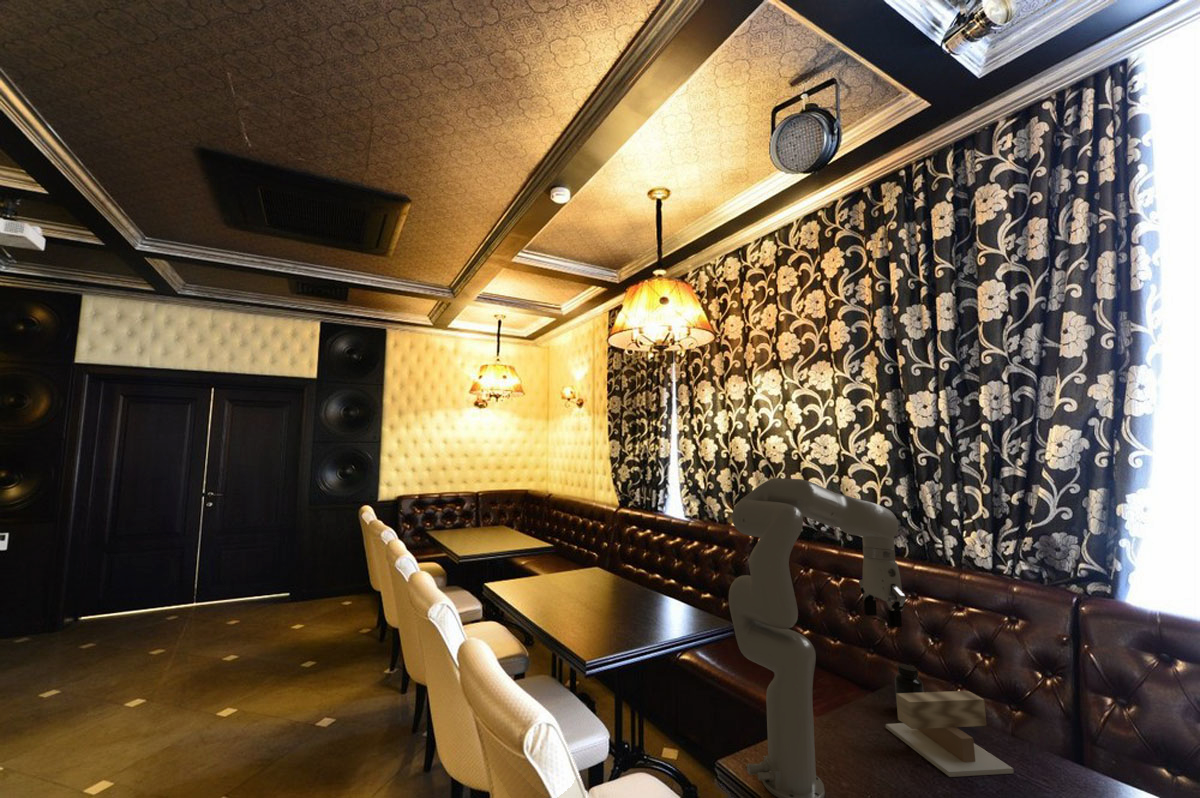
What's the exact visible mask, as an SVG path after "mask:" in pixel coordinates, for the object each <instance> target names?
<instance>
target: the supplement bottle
mask: <svg viewBox="0 0 1200 798" xmlns="http://www.w3.org/2000/svg"><path fill="white" fill-rule="evenodd" d="M918 671H919V670H918V668H917V667H916V666H913V665H909V664H905V663H902V664H901V663H899V664H898V665H897V673H898V674H896V675H895V677H894V686H895V687H894V690H895V694H896V693H922V692H925V690H924V684H923V681H922V680H921V679H920V678H919V672H918ZM895 702H896V704H895V705H896V706H897V698H896V697H895Z"/></svg>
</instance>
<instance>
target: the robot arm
mask: <svg viewBox="0 0 1200 798" xmlns="http://www.w3.org/2000/svg"><path fill="white" fill-rule="evenodd" d="M731 515H732V516H731V520H732V524H733V526H734V529H736V530H737V532H739V533H741V534H743V535H745V536H750V537H755V538H759V540H758V541H757V543H756V544H755V546H754V547H753V548H752V551H751V553H750V555H749V557H748V566H749V567H748V569H749V573H750V575H748V574H747V575H745V574H744V575H740V576H738V577H736V578H735V579H734V580H733V581H732V583H731V585H730V586H729V590H728V606H729V612H730V617H731V620H732V624H733V625H732V626H733V629H734V634H735V639H736V642H737V646H738V649H739V650H740V652H741V654H742V655H743V656H744V658H746V659H747V660H749V661H751V662H753V663H755V664H757V665H759V666H761V667H764V668H766V669H767V670H770V671H771V672H773V674H774V676H773V679H772V680H771V681H770V683H769V684H768V686H767V689H766V696H765V699H766V702H765V703H766V722H767V723H766V724H767V725H766V727H767V728H766V729H767V731H766V733H767V755H763V761H760V762H759V763H755V762H754V763H747V764H746V771H747V774H748V775H749V776H755V775H757V779H758V781H759V782H762V784H763V785H764V787H765V789H766V790H767V791H769V792H770V793H771V794H772V795H773V796H774V797H776V798H825V794H826V793H825V785H824V782H823V781H822V780H821V778H820V777H819V776H818V775H816V774H817V773H816V771H817V769H816V753H815V752H816V751H815V748H816V745H815V727H814V725H815V724H814V709H813V708H814V707H813V705H814V704H813V684H814V674H815V668H816V658H817V657H816V649H815V647H814V645H813V644H812V642H811V641H810V640H809V639H808V638H807V637H806V636H805V635H803V634H801V633H800V632H797V631H795V630H792V629H790V628H793V627H794V626H795V625H796V624H797V621H798V618H799V617H798V616H799V610H798V604H797V598H796V594H795V589H794V585H793V581H792V580H793V579H792V577H791V572H790V571H791V570H790V565H789V564H790V563H789V562H790V557H791V556H790V555H791V553H792V550H793V547H794V546H795V544H796V541H797V539H799V537H800V535H801V533H802V530H803V525H804V519H803V517H804V518H806V519H810V520H813V521H815V522H818V523H821V524H822V525H826V526H830V527H834V528H839V530H841V531H842V532H843V533H845V534H847V535H850V536H851V535H852V536H858V537H862V554H863V557H862V558H863V562H862V578H861V579H860V580H858V584H859V587H860V592H861V594H862V599H863V607H864V608H863V609H864V611H863V612H864V615H865V616H873V617H874V616H877V614H878V613H877V612H878V611H877V610H878V609H877V600H876V599H875V598H877V599H879V600H882V601H884V602H886V604H887V606H888V609H887V618H888V619H887V620H888V621H887V622H888V626H889V627H891V628H901V627H902V626H903V624H902V623H903V622H902V612H903V610H904V609H903V608H904V607H905V603H906V600H907V597H906V595H905V593H903V587H902V581H901V579H902V578H901V575H900V569H899V566H898V563H897V561H896V550H895V536H896V535H897V533H898V531H899V522H898V518H897V517H896V515H895V514H894V513H893V512H892V510H890V509H888V508H886V507H884V506H883V505H879V504H877V503H875V502H871V501H867V500H863V499H859V498H856V497H852V496H849V495H846V494H842V493H838V492H835V491H832V490H829V489H828V488H826V487H823V486H821V485H819V484H817V483H815V482H811V481H810V480H806V479H800V478H771V479H769V480H766V481H764V482H762V483H761V484H759V485H758V486H757V487H755V488H754V489H753V490H751V491H750V492H749V493H748V494H746V495H744V496H743V497H742V498H741V499H739V501H737V503H736V504H735V506H734V508H733V510H732V513H731Z"/></svg>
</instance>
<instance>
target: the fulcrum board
mask: <svg viewBox="0 0 1200 798" xmlns="http://www.w3.org/2000/svg"><path fill="white" fill-rule="evenodd" d="M885 729H887V730H888V731H889V732H891V734H893V735H894V736H895V737H896V738H898V739H900V740H901V741H902V742H904V743H905V744H906V745H908V747H910V748H911V749H912V750H914V752H916V753H918V754H919V755H920V756H922V757H923V758H924V759H925V760H926V761H928V762H929V763H931V764H932V765H933V766H935V768H937V769H938V770H939V771H941V772H942V773H943V774H945V775H946V776H948V777H949V778H952V777H953V778H955V777H970V776H971V777H973V776H974V777H975V776H988V775H989V776H990V775H1007V774H1010V775H1011V774H1014V773H1015V772H1014V767H1011V766H1010V765H1009V764H1007V763H1005V762H1004V761H1003V760H1001V759H999V758H998V757H996V756H995V755H993V754H992V753H990V752H989V751H986V750H985V749H984V748H982V747H981V746H979V745H977V744H976V743H975V740H974V737H973V736H971V735H969V734H967V733H966V732H965V731H963V730H962V729H960V728H959V727H948V728H926V729H911V728H909V727H908V726H907V725H905V724H904V723H903V722H898V723H886V724H885Z"/></svg>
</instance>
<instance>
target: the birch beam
mask: <svg viewBox="0 0 1200 798" xmlns="http://www.w3.org/2000/svg"><path fill="white" fill-rule="evenodd" d="M896 698H897V705H896V709H897V710H896V711H897V721H900V723H904V724H905V725H907V726H908V727H909V728H911V729H926V728H948V727H957V728H962V727H963V728H965V727H966V728H967V727H986V726H987V716H986V705H985V704H986V702H985V699H984V698H982V697H980V696H979V695H977V694H975V693H973V692H971V691H969V690H959V691H958V690H954V691H953V690H952V691H949V690H948V691H926V692H925V691H924V692H922V693H896V692H895V699H896Z"/></svg>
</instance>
